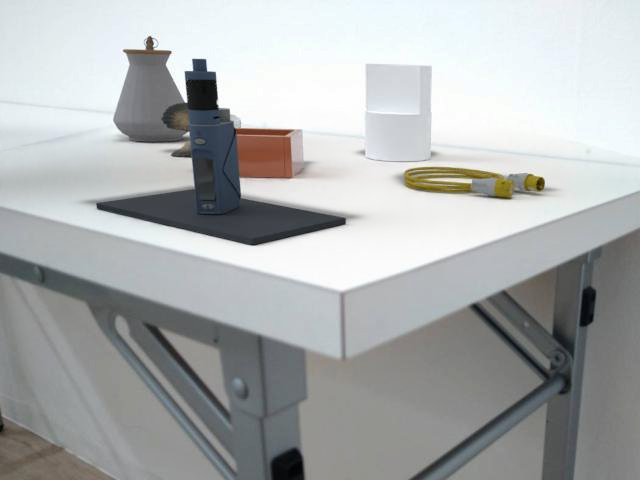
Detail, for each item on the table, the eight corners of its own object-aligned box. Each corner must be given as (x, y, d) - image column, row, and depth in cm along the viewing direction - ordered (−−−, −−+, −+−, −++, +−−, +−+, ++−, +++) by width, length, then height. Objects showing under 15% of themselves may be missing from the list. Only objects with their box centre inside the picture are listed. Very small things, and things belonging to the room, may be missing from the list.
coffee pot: (195, 143, 110) (185, 34, 105) (111, 143, 107) (97, 31, 102) (195, 129, 129) (187, 37, 124) (124, 129, 126) (112, 34, 121)
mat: (96, 208, 64) (95, 202, 64) (193, 194, 72) (192, 188, 72) (252, 245, 54) (252, 238, 54) (346, 223, 61) (346, 217, 61)
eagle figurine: (215, 139, 106) (153, 130, 99) (233, 97, 102) (170, 85, 95) (235, 174, 103) (173, 167, 96) (255, 132, 99) (191, 122, 92)
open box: (205, 176, 82) (202, 134, 81) (224, 165, 90) (221, 127, 89) (292, 178, 83) (290, 136, 81) (303, 167, 91) (302, 129, 89)
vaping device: (190, 214, 60) (175, 58, 56) (217, 203, 65) (205, 58, 61) (220, 216, 60) (207, 59, 56) (245, 204, 65) (235, 59, 61)
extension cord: (444, 203, 71) (445, 182, 70) (386, 178, 84) (386, 160, 84) (552, 196, 76) (553, 177, 75) (481, 174, 89) (482, 157, 88)
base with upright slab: (442, 156, 104) (444, 65, 100) (409, 163, 96) (410, 65, 92) (387, 151, 108) (387, 63, 104) (352, 157, 100) (350, 63, 96)
